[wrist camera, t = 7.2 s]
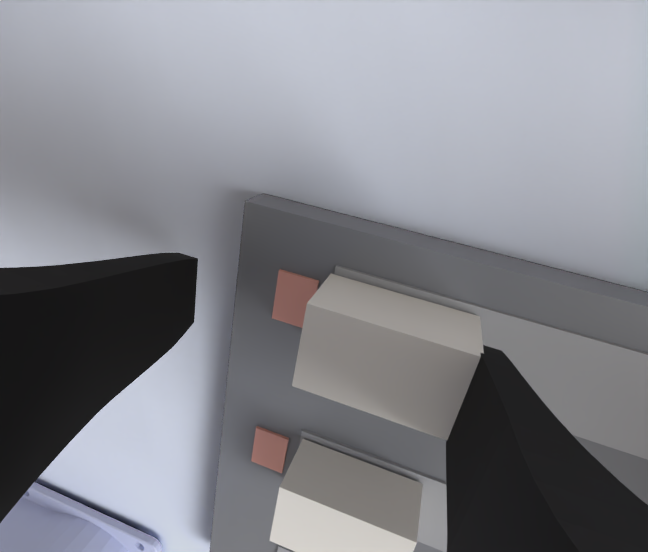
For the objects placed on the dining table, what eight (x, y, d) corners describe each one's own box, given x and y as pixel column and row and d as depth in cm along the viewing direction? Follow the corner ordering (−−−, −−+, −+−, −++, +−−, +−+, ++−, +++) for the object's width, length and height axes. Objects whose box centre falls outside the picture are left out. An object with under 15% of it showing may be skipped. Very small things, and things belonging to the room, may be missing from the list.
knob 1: (315, 346, 12) (291, 386, 11) (330, 273, 11) (306, 303, 10) (451, 391, 12) (450, 441, 10) (480, 316, 11) (484, 357, 9)
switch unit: (221, 548, 20) (206, 576, 18) (263, 193, 13) (243, 201, 12) (558, 700, 17) (566, 745, 15) (854, 345, 10) (908, 377, 9)
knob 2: (292, 488, 15) (269, 540, 13) (303, 438, 14) (279, 486, 12) (403, 533, 14) (395, 595, 12) (422, 483, 13) (416, 542, 11)
